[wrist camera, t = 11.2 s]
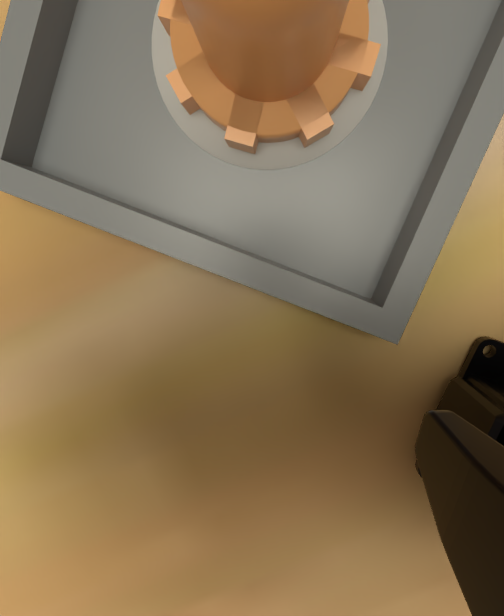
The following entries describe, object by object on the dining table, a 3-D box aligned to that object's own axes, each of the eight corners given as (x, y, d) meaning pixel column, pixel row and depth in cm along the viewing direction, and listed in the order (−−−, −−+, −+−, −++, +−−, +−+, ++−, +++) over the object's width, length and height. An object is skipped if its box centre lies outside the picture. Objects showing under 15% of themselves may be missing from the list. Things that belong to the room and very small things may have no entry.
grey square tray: (564, -90, 16) (629, -161, 13) (378, 326, 19) (397, 344, 16) (137, -260, 16) (105, -371, 13) (14, 185, 19) (-35, 177, 16)
